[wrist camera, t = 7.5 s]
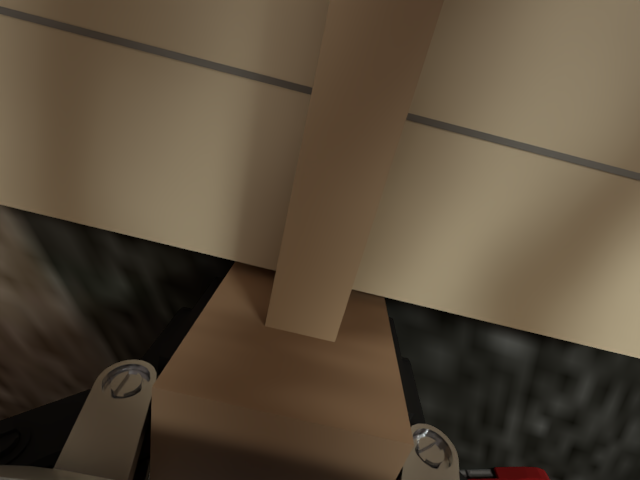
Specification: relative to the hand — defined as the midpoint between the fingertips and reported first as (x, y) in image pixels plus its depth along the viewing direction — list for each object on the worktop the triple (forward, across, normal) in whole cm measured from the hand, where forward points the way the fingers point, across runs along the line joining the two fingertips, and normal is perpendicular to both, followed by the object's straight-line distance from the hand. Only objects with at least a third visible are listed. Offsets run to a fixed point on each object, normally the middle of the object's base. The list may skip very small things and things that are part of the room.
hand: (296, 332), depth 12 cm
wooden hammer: (+1, 0, -5) cm, 5 cm away
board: (+1, -1, -7) cm, 8 cm away
